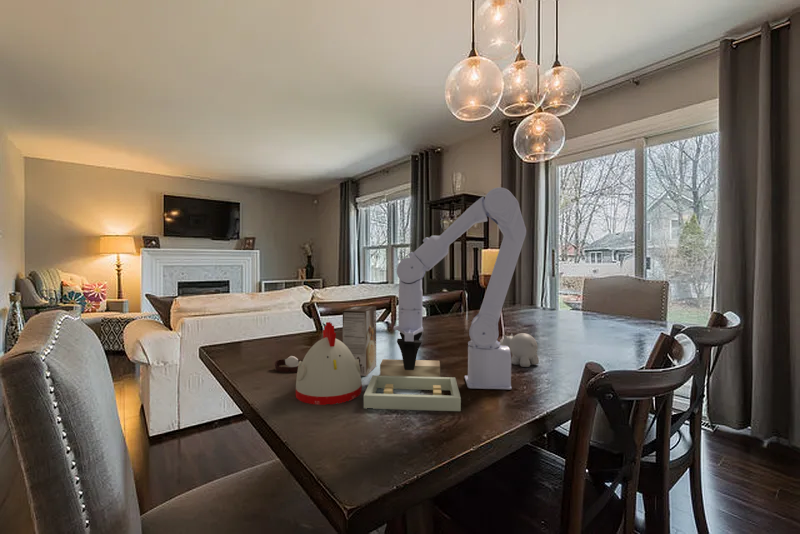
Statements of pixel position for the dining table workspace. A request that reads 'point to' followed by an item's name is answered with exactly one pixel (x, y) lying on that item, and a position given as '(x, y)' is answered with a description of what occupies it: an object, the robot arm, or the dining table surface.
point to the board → (420, 370)
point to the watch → (290, 362)
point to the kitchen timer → (328, 372)
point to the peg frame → (409, 400)
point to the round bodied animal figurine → (522, 349)
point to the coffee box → (361, 335)
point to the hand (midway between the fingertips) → (409, 365)
